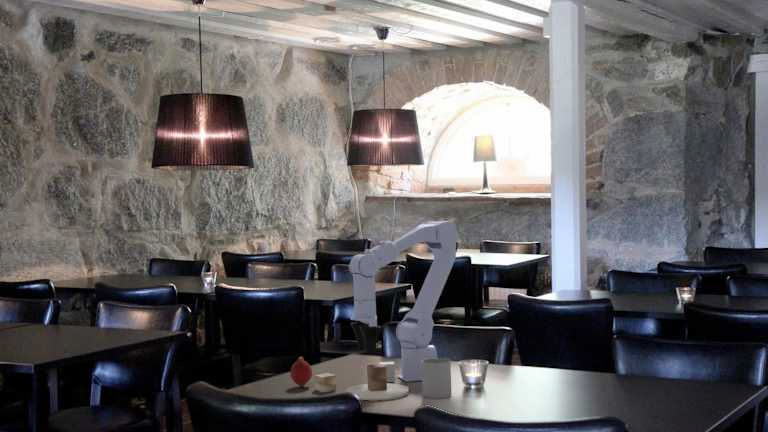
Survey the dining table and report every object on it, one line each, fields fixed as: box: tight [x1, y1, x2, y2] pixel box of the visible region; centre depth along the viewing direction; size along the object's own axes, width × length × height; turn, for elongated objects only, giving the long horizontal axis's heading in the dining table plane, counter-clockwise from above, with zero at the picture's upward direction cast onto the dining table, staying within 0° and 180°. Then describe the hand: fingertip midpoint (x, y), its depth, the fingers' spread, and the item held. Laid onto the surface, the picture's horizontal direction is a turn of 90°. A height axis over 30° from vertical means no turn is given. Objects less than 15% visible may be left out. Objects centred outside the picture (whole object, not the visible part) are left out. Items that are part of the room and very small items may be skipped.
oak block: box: [314, 372, 337, 393], centre depth 258 cm, size 4×4×4 cm
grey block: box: [378, 361, 396, 383], centre depth 267 cm, size 4×4×5 cm
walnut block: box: [366, 363, 387, 392], centre depth 250 cm, size 4×4×6 cm
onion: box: [290, 356, 313, 388], centre depth 263 cm, size 6×6×8 cm
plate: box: [345, 383, 410, 402], centre depth 251 cm, size 16×16×1 cm
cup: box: [421, 357, 452, 400], centre depth 247 cm, size 7×10×9 cm
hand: (366, 350), depth 261 cm, fingers open, 7 cm apart
